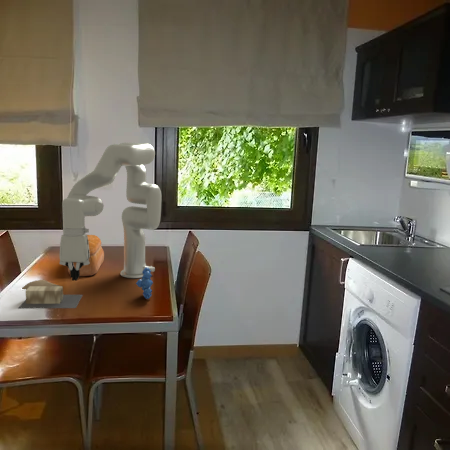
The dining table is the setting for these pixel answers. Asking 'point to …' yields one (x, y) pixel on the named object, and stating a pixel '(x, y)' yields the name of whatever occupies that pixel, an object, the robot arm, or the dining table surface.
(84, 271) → the bread
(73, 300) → the rubber mat
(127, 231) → the robot arm
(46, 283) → the clay tablet
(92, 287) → the dining table surface
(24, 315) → the dining table surface
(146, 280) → the grapes
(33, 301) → the birch block
